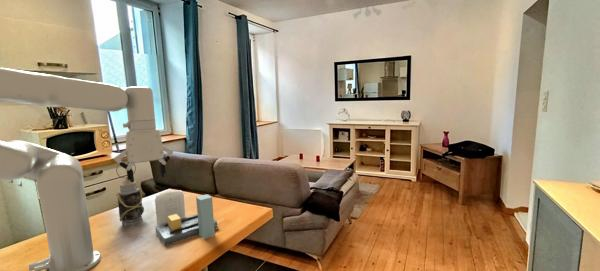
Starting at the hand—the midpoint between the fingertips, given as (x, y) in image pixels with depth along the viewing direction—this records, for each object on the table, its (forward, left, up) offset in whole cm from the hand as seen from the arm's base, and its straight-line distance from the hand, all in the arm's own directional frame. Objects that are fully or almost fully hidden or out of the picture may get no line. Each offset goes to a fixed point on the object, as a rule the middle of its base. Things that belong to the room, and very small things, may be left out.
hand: (147, 178), depth 90 cm
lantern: (-3, +20, -22) cm, 30 cm away
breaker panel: (+11, 0, -22) cm, 25 cm away
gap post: (+15, -9, -22) cm, 28 cm away
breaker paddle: (+7, 0, -19) cm, 20 cm away
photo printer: (+9, +12, -22) cm, 27 cm away
